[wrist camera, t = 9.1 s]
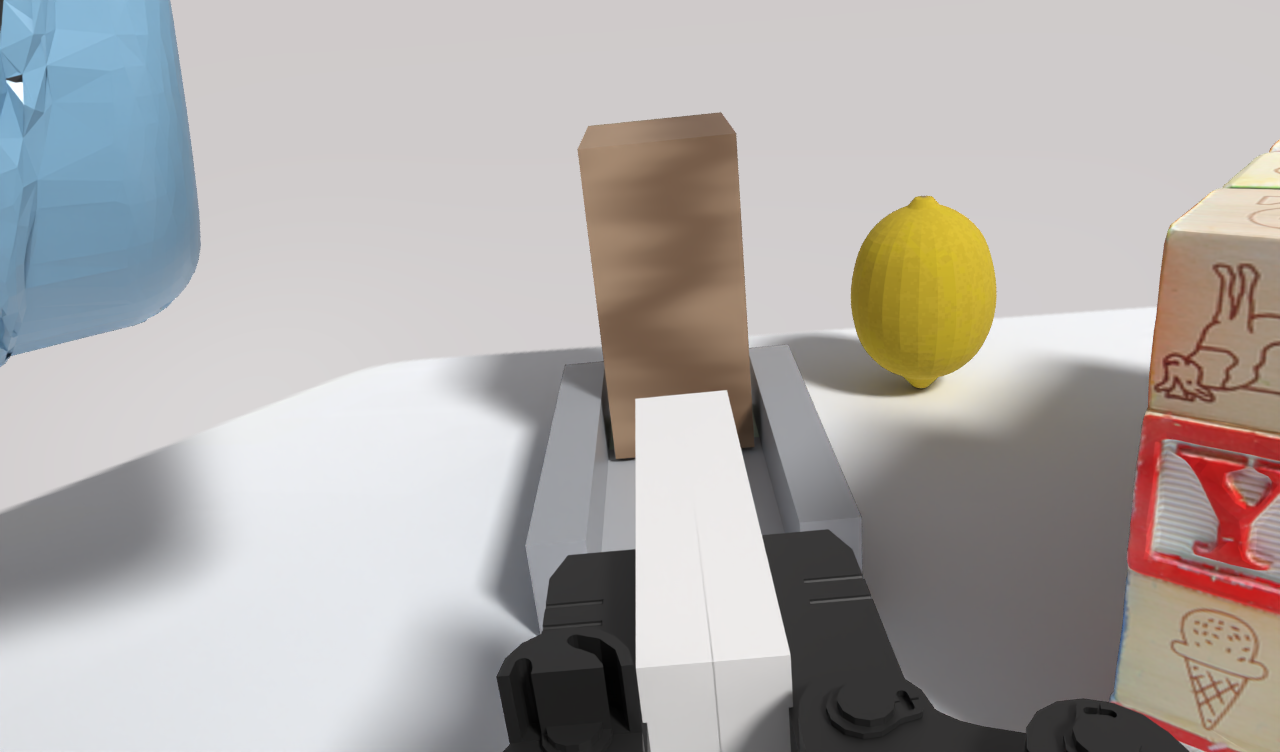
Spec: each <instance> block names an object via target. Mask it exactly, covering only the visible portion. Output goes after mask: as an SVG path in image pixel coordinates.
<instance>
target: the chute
mask: <svg viewBox="0 0 1280 752" xmlns="http://www.w3.org/2000/svg"><path fill="white" fill-rule="evenodd" d="M749 361H750V378H751V395H752V412H753V429H754V446H755V447H748V448H741V451H742V455H743V459H744V463H745V468H746V472H747V476H748V480H749V484H750V488H751V493H752V497H753V501H754V505H755V509H756V513H757V517H758V522H759V526H760V530H761V534H762V535H769V534H780V533H792V532H803V531H814V530H825V529H829V530H830V531H831V532H832V533H833V534H835V535H836V536H837V537H838V538H840V539H841V540H842V541H843V542H844V543H846V544H847V545H848V546H849V547H850V548H852V549H853V552H854V554H855V557H856V559H857V562H858V564H859V567H860V569H861V572H862V517H861V515H860V512H859V510H858V508H857V505H856V503H855V501H854V498H853V496H852V494H851V491H850V489H849V486H848V484H847V482H846V479H845V477H844V475H843V472H842V470H841V468H840V465H839V463H838V461H837V458H836V456H835V453H834V451H833V449H832V446H831V444H830V442H829V439H828V437H827V435H826V432H825V430H824V428H823V425H822V423H821V420H820V418H819V416H818V413H817V411H816V409H815V406H814V404H813V402H812V399H811V397H810V395H809V392H808V390H807V388H806V385H805V383H804V380H803V378H802V376H801V373H800V371H799V369H798V366H797V364H796V362H795V359H794V357H793V355H792V352H791V350H790V347H789V345H777V346H766V347H755V348H749ZM525 547H526V553H527V559H528V565H529V570H530V576H531V582H532V588H533V594H534V599H535V605H536V611H537V617H538V623H539V629H540V634H541V632H542V631H543V626H542V625H543V618H544V612H545V609H546V598H547V592H548V585H549V579H550V577H551V576H552V575H553V573H554V572H555V571H556V570H557V568H558V567H559V566H560V565H561V563H562V562H563V561H564V559H565V558H566V557H567V556H568V555H575V554H586V553H597V552H608V551H620V550H631V549H636V457H634V458H622V459H616V456H615V448H614V440H613V432H612V424H611V416H610V408H609V400H608V391H607V383H606V375H605V367H604V361H603V362H592V363H581V364H570V365H565V367H564V372H563V376H562V381H561V385H560V390H559V394H558V399H557V403H556V408H555V412H554V417H553V422H552V426H551V431H550V435H549V440H548V444H547V449H546V453H545V458H544V462H543V467H542V472H541V476H540V481H539V485H538V490H537V494H536V499H535V503H534V508H533V513H532V517H531V522H530V526H529V531H528V535H527V540H526V544H525Z"/></svg>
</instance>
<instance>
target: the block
mask: <svg viewBox="0 0 1280 752" xmlns="http://www.w3.org/2000/svg"><path fill="white" fill-rule="evenodd" d="M578 156H579V164H580V172H581V180H582V189H583V196H584V205H585V212H586V221H587V229H588V237H589V245H590V253H591V262H592V269H593V278H594V285H595V294H596V302H597V310H598V318H599V327H600V335H601V342H602V351H603V359H604V367H605V375H606V383H607V391H608V400H609V408H610V416H611V424H612V432H613V440H614V448H615V456H616V459H622V458H634V457H636V453H635V399H638V398H649V397H659V396H670V395H681V394H691V393H702V392H712V391H723V390H727V393H728V397H729V401H730V405H731V409H732V414H733V418H734V422H735V426H736V430H737V434H738V439H739V443H740V447H741V448H748V447H755V446H754V429H753V412H752V395H751V378H750V361H749V344H748V327H747V312H746V294H745V276H744V261H743V244H742V226H741V209H740V192H739V175H738V158H737V141H736V133H735V131H734V130H733V128H732V127H731V126H730V124H729V123H728V121H727V120H726V119H725V117H724V116H723V114H722V113H711V114H701V115H692V116H682V117H672V118H663V119H654V120H643V121H633V122H623V123H615V124H604V125H594V126H588V128H587V130H586V132H585V135H584V137H583V139H582V141H581V143H580V146H579V148H578Z"/></svg>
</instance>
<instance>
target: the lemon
mask: <svg viewBox="0 0 1280 752" xmlns="http://www.w3.org/2000/svg"><path fill="white" fill-rule="evenodd" d="M995 307H996V279H995V272H994V267H993V262H992V258H991V255H990V251H989V248H988V245H987V243H986V240H985V238H984V236H983V235H982V233H981V232H980V230H979V229H978V228H977V227H976V226H975V225H974V223H972V222H971V221H970V220H969V219H968V218H967V217H965V216H964V215H962V214H960V213H959V212H957V211H956V210H953V209H951V208H949V207H946V206H943V205H939V204H938V202H937V201H935V199H934V198H933V197H932V196H918V197H915V198H914V199H913V200H912V202H911V203H910V204H909V205H908V206H906V207H903V208H900V209H898V210H896V211H894V212H892V213H891V214H889V215H888V216H886V217H885V218H883V219H882V220H881V221H880V222H879V223H878V224H876V226H875V227H874V228H873V229H872V230H871V231H870V233H869V234H868V236H867V237H866V239H865V241H864V242H863V244H862V246H861V248H860V251H859V253H858V256H857V260H856V263H855V267H854V272H853V277H852V285H851V308H852V315H853V320H854V324H855V328H856V332H857V335H858V337H859V340H860V342H861V344H862V346H863V347H864V349H865V350H866V352H867V353H868V354H869V355H870V356H871V357H872V358H873V359H874V360H875V361H876V362H877V363H878V364H879V365H880V366H881V367H883V368H885V369H886V370H888V371H890V372H892V373H894V374H897V375H900V376H903V377H904V378H905V379H906V380H907V381H908V382H909V383H910V384H911V385H912V386H913V387H916V388H926V387H928V386H929V385H930V384H931V383H933V382H934V381H935V380H936V379H937V378H938V377H939V376H944V375H947V374H950V373H952V372H954V371H956V370H958V369H959V368H961V367H962V366H964V365H965V364H966V363H967V362H969V361H970V360H971V359H972V358H973V357H974V356H975V355H976V354H977V352H978V351H979V349H980V348H981V347H982V345H983V343H984V341H985V339H986V337H987V335H988V333H989V331H990V328H991V325H992V322H993V318H994V313H995Z"/></svg>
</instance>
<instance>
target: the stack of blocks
mask: <svg viewBox="0 0 1280 752" xmlns="http://www.w3.org/2000/svg"><path fill="white" fill-rule="evenodd" d="M1126 559H1127V563H1128V572H1127V578H1126V587H1125V599H1124V613H1123V625H1122V632H1121V639H1120V646H1119V653H1118V660H1117V667H1116V676H1115V686H1114V691H1113V692H1112V694H1111V696H1110V700H1109V702H1110V703H1115V704H1117V705H1120V706H1122V707H1125V708H1128V709H1130V710H1133V711H1135V712H1138V713H1140V714H1143V715H1144V716H1146V717H1147V718H1149V719H1150V720H1152V721H1153V722H1155V723H1156V724H1157V725H1159V726H1160V727H1162V728H1163V729H1165V730H1166V731H1168V732H1169V733H1170V734H1171V735H1172V736H1173V737H1174V738H1175V739H1177V740H1178V741H1179V742H1180V743H1181V744H1182V745H1183V746H1184V747H1185V748H1186V749H1188V750H1189V751H1190V752H1280V140H1278V141H1277V142H1276V143H1275V144H1274V145H1273V146H1272V147H1271V148H1270V151H1269V153H1265V154H1262V155H1259V156H1258V157H1256V158H1255V159H1254V160H1253V161H1252V162H1251V163H1249V164H1248V165H1247V166H1246V167H1245V168H1244V169H1242V170H1241V171H1240V172H1239V173H1237V174H1236V175H1235V176H1234V177H1233V178H1232V179H1231V180H1230V181H1229V182H1228V183H1226V184H1225V185H1224V186H1223V188H1219V189H1217V190H1214V191H1212V192H1211V193H1210V194H1208V195H1207V196H1206V197H1205V198H1203V199H1202V200H1201V201H1200V202H1199V203H1197V204H1196V205H1195V206H1194V207H1193V208H1191V209H1190V210H1189V211H1187V212H1186V213H1185V214H1184V215H1182V216H1181V217H1180V218H1179V219H1177V220H1176V221H1175V222H1174V223H1172V224H1171V225H1170V227H1169V229H1168V233H1167V236H1166V239H1165V243H1164V250H1163V258H1162V266H1161V274H1160V285H1159V294H1158V304H1157V315H1156V321H1155V328H1154V335H1153V345H1152V354H1151V364H1150V373H1149V391H1148V408H1147V411H1146V413H1145V415H1144V419H1143V423H1142V428H1141V439H1140V445H1139V451H1138V457H1137V464H1136V470H1135V479H1134V489H1133V501H1132V512H1131V521H1130V534H1129V541H1128V549H1127V556H1126Z"/></svg>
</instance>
